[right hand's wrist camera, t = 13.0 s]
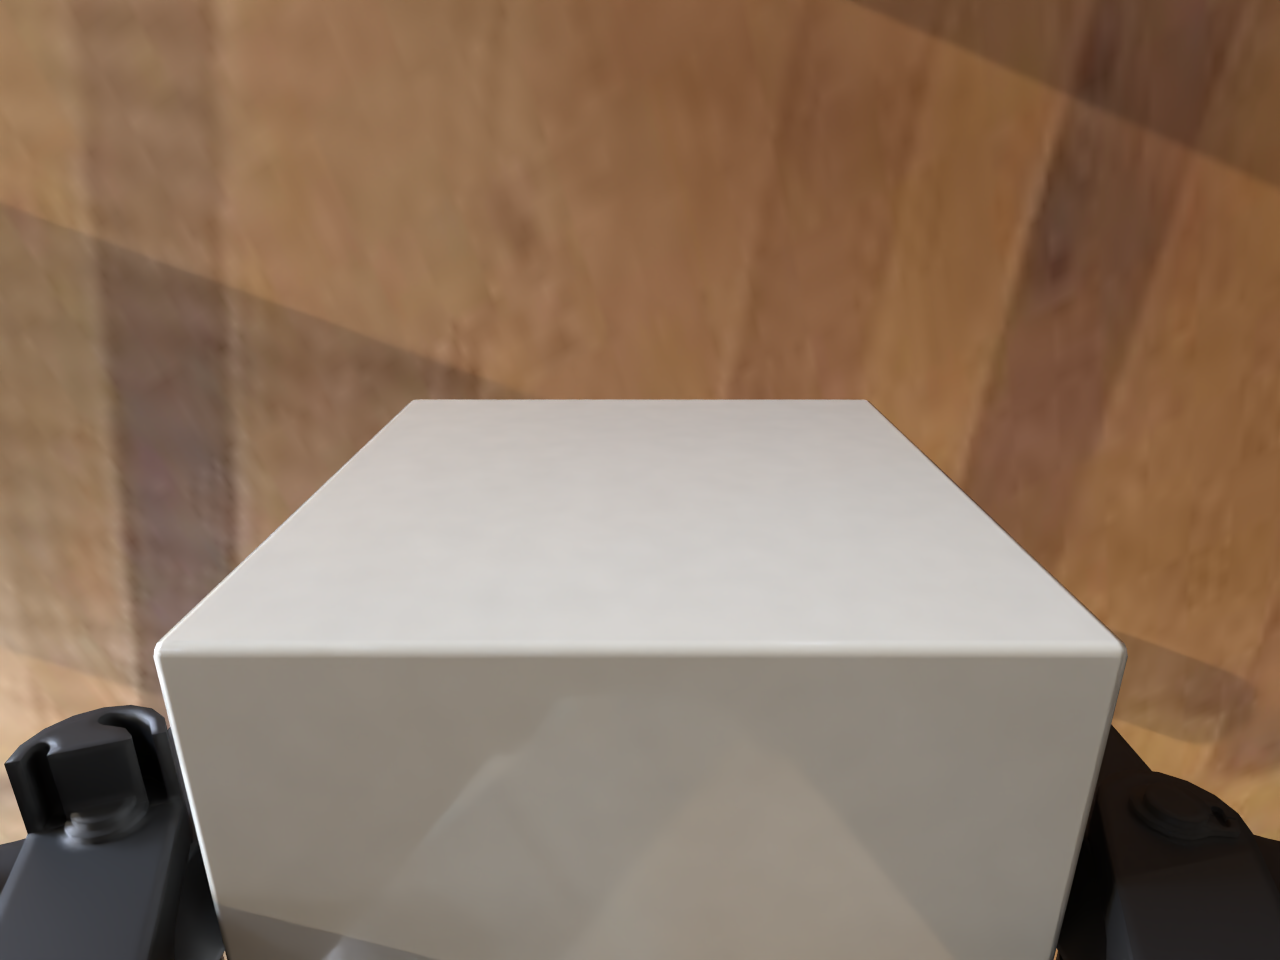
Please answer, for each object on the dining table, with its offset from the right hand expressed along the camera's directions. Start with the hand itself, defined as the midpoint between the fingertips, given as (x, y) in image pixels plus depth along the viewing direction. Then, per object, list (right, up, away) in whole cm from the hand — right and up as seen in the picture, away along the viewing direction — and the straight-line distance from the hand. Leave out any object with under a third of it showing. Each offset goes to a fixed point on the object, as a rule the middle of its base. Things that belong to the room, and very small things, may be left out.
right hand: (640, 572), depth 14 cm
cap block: (0, 0, -1) cm, 1 cm away
